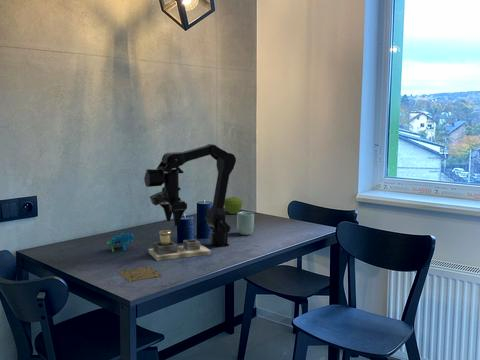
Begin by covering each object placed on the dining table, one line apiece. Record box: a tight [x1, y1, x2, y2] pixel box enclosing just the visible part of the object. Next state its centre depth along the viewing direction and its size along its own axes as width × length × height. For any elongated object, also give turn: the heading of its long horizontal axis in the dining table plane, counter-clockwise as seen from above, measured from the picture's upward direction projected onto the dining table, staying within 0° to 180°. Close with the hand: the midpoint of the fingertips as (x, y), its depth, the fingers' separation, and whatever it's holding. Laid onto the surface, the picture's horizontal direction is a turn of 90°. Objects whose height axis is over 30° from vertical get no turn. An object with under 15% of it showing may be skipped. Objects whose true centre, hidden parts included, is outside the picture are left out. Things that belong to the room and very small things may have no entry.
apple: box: [224, 196, 243, 215], centre depth 274 cm, size 11×10×10 cm
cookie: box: [118, 266, 163, 283], centre depth 166 cm, size 12×12×1 cm
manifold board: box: [148, 238, 212, 261], centre depth 192 cm, size 22×12×4 cm, turn 116°
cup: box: [236, 211, 255, 236], centre depth 226 cm, size 8×8×10 cm
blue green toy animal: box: [106, 232, 135, 253], centre depth 195 cm, size 11×6×10 cm
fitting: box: [158, 229, 172, 246], centre depth 189 cm, size 5×5×8 cm
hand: (172, 223), depth 193 cm, fingers open, 9 cm apart
